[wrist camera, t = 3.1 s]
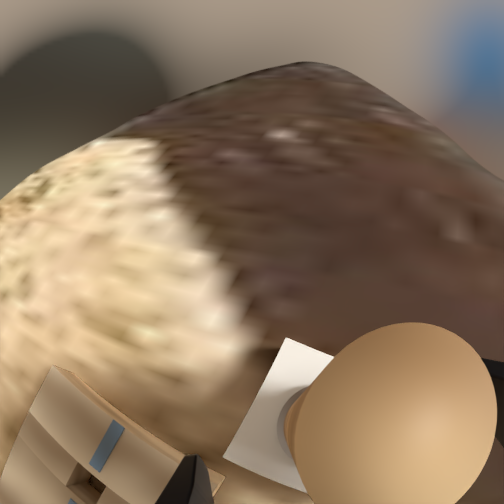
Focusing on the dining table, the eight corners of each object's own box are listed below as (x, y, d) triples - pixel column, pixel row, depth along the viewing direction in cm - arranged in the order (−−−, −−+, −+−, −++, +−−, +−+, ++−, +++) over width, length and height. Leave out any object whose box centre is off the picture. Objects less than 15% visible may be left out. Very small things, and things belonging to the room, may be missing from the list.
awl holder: (342, 496, 12) (352, 506, 10) (229, 452, 14) (222, 457, 12) (391, 390, 15) (407, 384, 13) (285, 348, 17) (286, 337, 15)
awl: (332, 469, 13) (452, 554, 2) (263, 443, 14) (224, 503, 3) (363, 404, 15) (523, 344, 4) (297, 378, 16) (339, 270, 5)
